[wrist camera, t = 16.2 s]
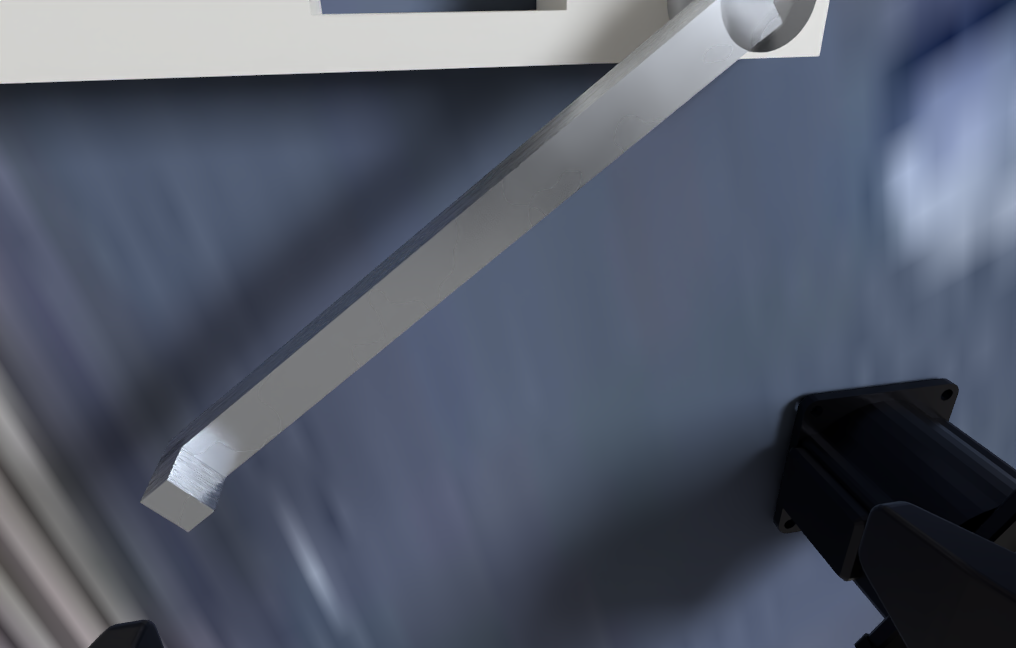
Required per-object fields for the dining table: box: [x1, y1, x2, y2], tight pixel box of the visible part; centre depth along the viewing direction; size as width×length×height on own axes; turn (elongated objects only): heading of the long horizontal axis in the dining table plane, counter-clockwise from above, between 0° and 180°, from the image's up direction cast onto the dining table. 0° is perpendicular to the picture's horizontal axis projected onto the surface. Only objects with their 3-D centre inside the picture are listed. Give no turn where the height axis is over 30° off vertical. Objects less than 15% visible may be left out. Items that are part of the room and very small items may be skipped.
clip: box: [140, 0, 816, 532], centre depth 13 cm, size 17×2×2 cm, turn 128°
